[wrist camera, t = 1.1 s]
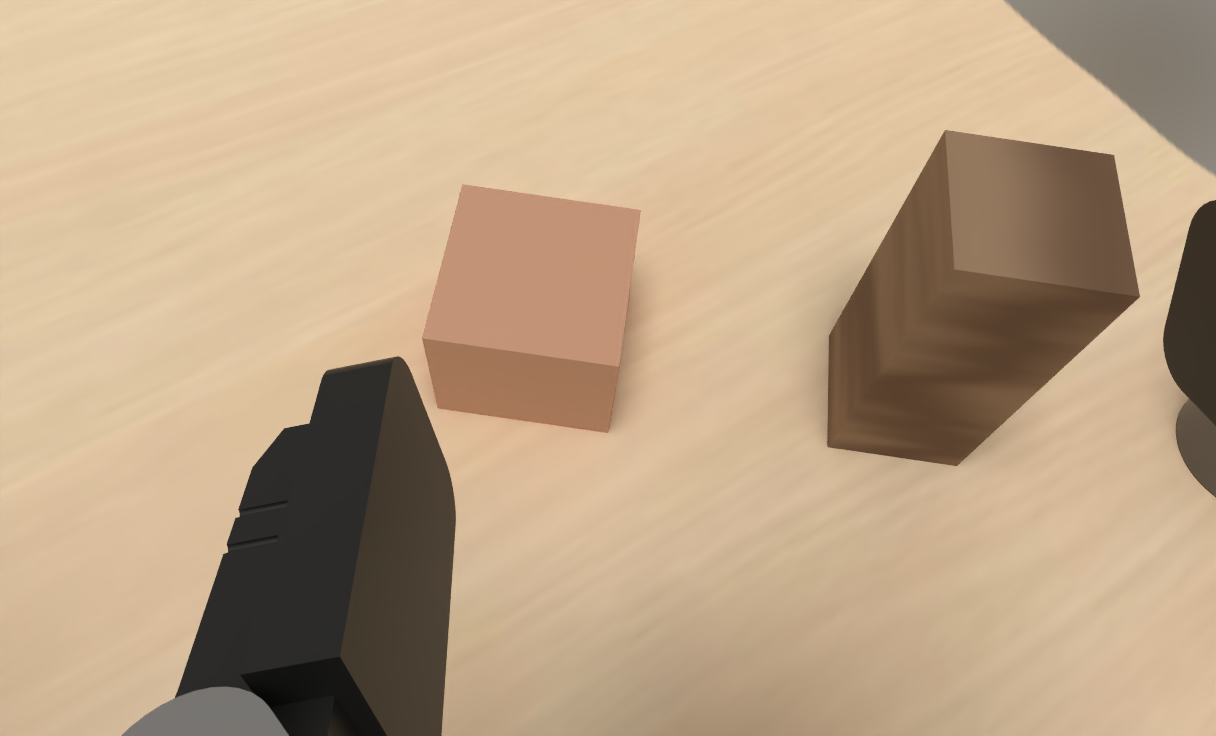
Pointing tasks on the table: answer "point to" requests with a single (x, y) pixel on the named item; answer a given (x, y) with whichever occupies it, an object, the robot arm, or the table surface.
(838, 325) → the walnut column
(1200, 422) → the charcoal cylinder
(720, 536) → the table surface
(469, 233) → the terracotta block
